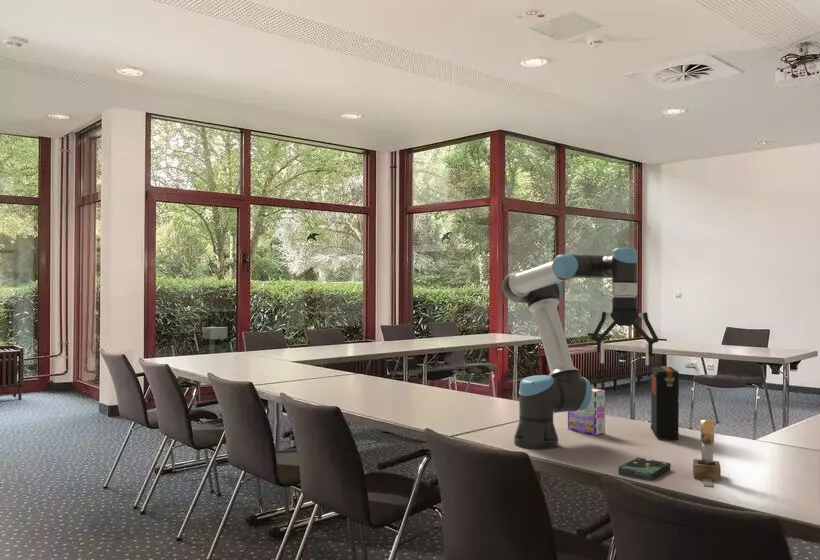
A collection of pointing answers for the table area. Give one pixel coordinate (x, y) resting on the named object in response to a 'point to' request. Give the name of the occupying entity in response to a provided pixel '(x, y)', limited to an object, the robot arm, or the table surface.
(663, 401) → the black orange case
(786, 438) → the table surface
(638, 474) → the disk drive
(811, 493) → the table surface
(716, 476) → the socket
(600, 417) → the candy box
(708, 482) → the joist stripe
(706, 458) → the tan and gray bar
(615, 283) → the robot arm
